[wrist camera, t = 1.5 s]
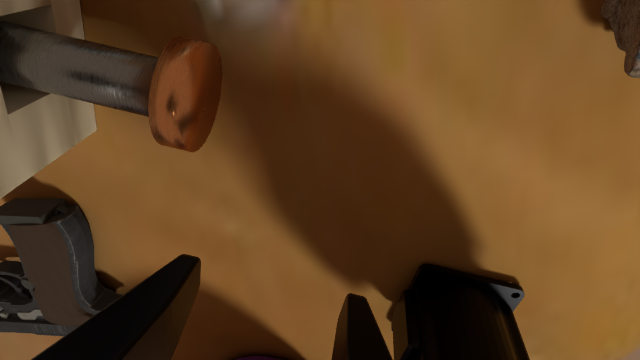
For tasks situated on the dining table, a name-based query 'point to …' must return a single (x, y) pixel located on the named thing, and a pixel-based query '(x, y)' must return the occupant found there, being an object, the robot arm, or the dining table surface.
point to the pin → (121, 79)
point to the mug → (257, 358)
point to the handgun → (49, 269)
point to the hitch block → (39, 101)
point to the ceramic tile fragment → (625, 30)
